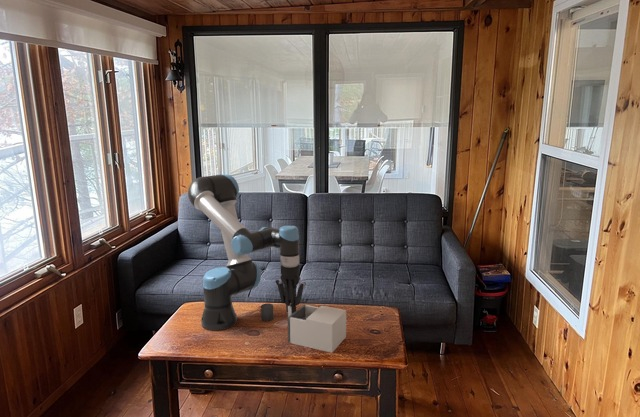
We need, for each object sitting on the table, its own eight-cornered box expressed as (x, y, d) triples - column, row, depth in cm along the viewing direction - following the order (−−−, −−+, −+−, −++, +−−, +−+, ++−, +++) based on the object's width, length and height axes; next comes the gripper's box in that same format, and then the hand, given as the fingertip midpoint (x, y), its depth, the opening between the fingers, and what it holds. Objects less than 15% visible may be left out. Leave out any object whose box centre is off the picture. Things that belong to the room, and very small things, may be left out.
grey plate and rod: (286, 341, 173) (286, 317, 172) (303, 326, 186) (302, 304, 184) (328, 350, 166) (327, 326, 164) (342, 334, 178) (342, 311, 176)
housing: (290, 343, 173) (289, 315, 171) (306, 328, 185) (306, 302, 183) (332, 352, 165) (332, 324, 163) (346, 336, 178) (346, 310, 175)
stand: (258, 320, 193) (258, 307, 192) (265, 315, 198) (265, 302, 197) (269, 322, 191) (269, 309, 190) (276, 317, 196) (275, 304, 195)
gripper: (271, 265, 174) (273, 320, 179) (299, 269, 169) (301, 326, 173) (280, 260, 181) (282, 313, 185) (308, 264, 175) (309, 319, 180)
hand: (291, 320), depth 179 cm, fingers closed
